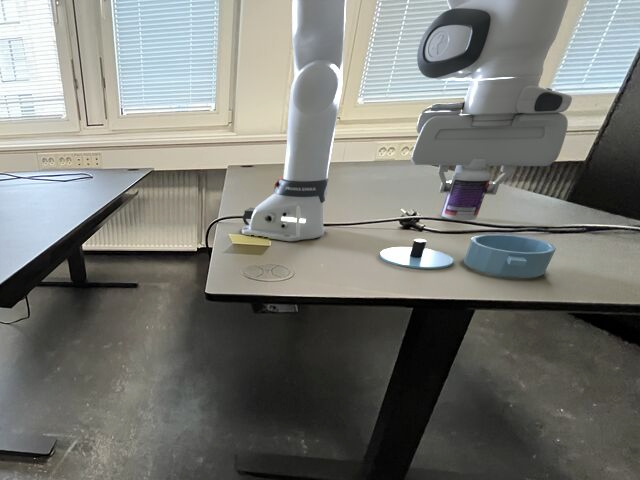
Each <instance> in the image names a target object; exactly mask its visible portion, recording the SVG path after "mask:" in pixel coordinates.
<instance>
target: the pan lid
mask: <svg viewBox="0 0 640 480" xmlns="http://www.w3.org/2000/svg"><path fill="white" fill-rule="evenodd" d="M427 242H428V241H427V240H426V239H422V238H415V239H413V242H412V246H396V247H389V248H385V249H383V250H382V251H380V253H379V257H380V259H382V260H383V261H384V262H387V263H389V264H391V265H395V266H398V267H403V268H409V269H418V270H438V269H440V270H441V269H444V268H448V267H450V266H452V265H453V263H454V259H453V257H451V256H450V255H449V254H446V253H445V252H441V251H438V250H434V249H431V248H430V249H429V248H426V245H427Z"/></svg>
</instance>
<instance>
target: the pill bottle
mask: <svg viewBox="0 0 640 480" xmlns="http://www.w3.org/2000/svg"><path fill="white" fill-rule="evenodd" d="M461 167H463V168H462V170H461V171H459V172H457V173H456V174H455V175H454V174H453V175H454V177H453V176H452V177H453V179H452V178H451V180H452V185H451V187H450V191H449V193H448V196H447V195H446V196H447V199H446V198H445V200H446V202H445V201H444V203H445V205H444V204H443V206H444V209H443V208H442V209H443V212H442V211H441V212H442V216H443V217H442V218H444V219H449V220H455V221H470V220H476V219H477V217H478V215H479V212H480V209H481V207H482V204H483V201H484V200H485V199H484V198H485V196H486V194H485V193H486V190H487V187H488V184H489V182H491V179H492V174H491V173H490V172H488V169H490V166H487V165H486V162H485V159H474V160H473V161H472V162H471V163H470V164H469V165H462V166H461Z"/></svg>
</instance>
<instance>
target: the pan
mask: <svg viewBox="0 0 640 480" xmlns="http://www.w3.org/2000/svg"><path fill="white" fill-rule="evenodd" d="M470 239H471V240H470V243H469V245H468V246H467V247H468V248H467V250H466V253H465V256H464V259H463V263H464V265H465V266H467V267H468V268H470V269H473V270H476V271H478V272H481V273H485V274H490V275H494V276H500V277H509V278H535V277H540V276H543V275H544V274H545V273H546V271H547V268H548V266H549V264H550V262H551V260H552V258H553V257H554V255H555V252H556V250H557V248H556V247H555V246H554V244H553V243H549V242H547V241H545V240H542V239H538V238H532V237H527V236H520V235H513V234H500V233H499V234H498V233H497V234H493V233H492V234H481V235H476V236H474V237H472V238H470Z"/></svg>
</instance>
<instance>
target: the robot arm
mask: <svg viewBox="0 0 640 480" xmlns="http://www.w3.org/2000/svg"><path fill="white" fill-rule="evenodd" d="M568 2H569V0H446V3H447V5H448V7H449V9H447V10H445V11H443V12H442V13H440V14H439V15H437V17H435V18H434V20H433V21H432V22H431V23H430V24H429V26H428V27H427V28H426V30H425V31H424V33H423V35H422V37H421V38H420V42H419V44H418V48H417V53H416V54H417V55H416V60H417V61H416V62H417V67H418V70H419V71H420V73H421V74H422V76H424V77H426V78H429V79H432V80H437V81H467V82H469V85H468V88H467V92H466V95H465V99H464V101H462V102H451V103H449V102H448V103H433V104H432V105H431V106H429V107H426V108H424V109H423V110H422V111H421V113H420V114H419V116H418V119H417V123H416V132H417V134H418V135H417V138H416V140H415V143H414V146H413V149H412V152H411V156H410V162H411V163H412V164H413V165H414V166H438V168H437V169H438V170H437V171H438V176H439V178H440V181H441V183H440V187H439V191H438V192H439V194H447V193H449V191H450V187H451V185H452V181H451V180H447V178H446V175H445V173H448V172H449V169H450V167H451V166H457V165H469V164H470V163H471V162H472V161H473V160H474V159H485V162H486V165H487V166H489V167H491V166H493V167H494V166H495V167H497V166H498V167H499V166H500V167H501V168H500V172H501V174H500V175H499V176H498V177H497V178H496V179H495V180H494V181H490V182H489V184H488V187H487V190H486V193H485V195H489V196H490V195H491V196H492V195H493V196H495V195H496V194H497V192H498V190H499V187H500V185H501V184H503V182H505V181H506V180H507V179H508V178H509V177H510V176H511V175H512V174H513V173H514V169H515V167H548V166H550V165H552V164H553V163H554V162H556V161H557V160H558V158H559V156H560V154H561V151H562V148H563V145H564V142H565V139H566V135H567V131H568V125H569V122H568V117H567V116H566V115H565V114H564V113H563V112H566V111H567V110H568V109H569V108H570V106H571V104H572V101H573V97H572V96H571V95H570V94H567V93H564V92H561V91H560V92H559V91H556V90H553V89H552V88H550V87H540V81H541V79H542V76H543V73H544V65H545V64H544V63H545V59H546V57H547V54H548V52H549V51H550V49H551V47H552V45H553V44H554V42H555V41H556V38H557V36H558V33H559V30H560V28H561V25H562V22H563V19H564V15H565V12H566V9H567V5H568ZM291 6H292V7H291V9H292V10H291V27H292V28H291V32H292V33H291V36H292V37H291V39H292V40H291V41H292V53H293V56H292V58H293V80H292V84H291V86H290V92H289V105H288V115H287V116H288V117H287V131H286V132H287V133H286V149H285V156H284V157H285V158H284V166H283V176H281V177H279V178H277V180H276V181H275V182H274V184H273V188H274V191H273V194H271V195H270V196H269V197H267V198H266V199H264V200H263V201H262V202H261V203H259V204H258V205H257V206H256V207H248V208H247V209H245V210H244V213H243V215H242V221H243V223H244V225H243V226H242V228H241V234H243V235H244V236H245V235H246V236H251V235H254V236H253V237H258V236H264V237H268V238H267V239H272V240H276V241H277V240H278V241H284V242H297V241H300V240H311V239H312V240H313V239H315V238H321V237H322V236H323V235H324V234H325V225H324V204H325V201H326V199H327V194H328V188H329V178H328V175H329V169H330V168H329V167H330V162H331V157H332V156H331V155H332V151H333V145H334V144H333V143H334V137H335V131H336V126H337V125H336V124H337V119H338V113H339V107H340V102H341V96H342V90H343V65H344V64H343V63H344V46H345V29H346V12H347V11H346V7H347V0H292V1H291ZM248 220H250V221H249V222H248ZM264 237H263V238H264Z"/></svg>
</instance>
